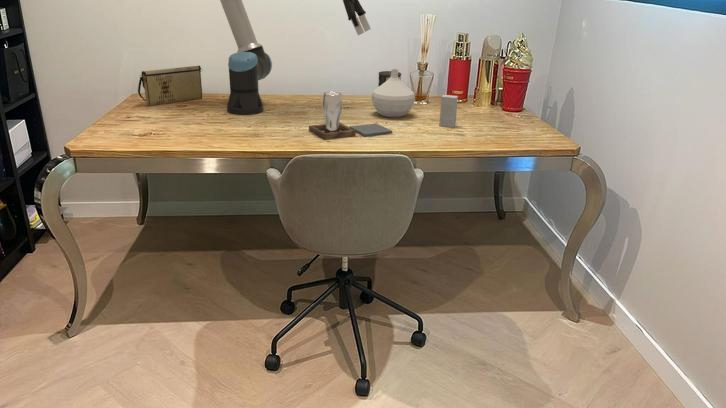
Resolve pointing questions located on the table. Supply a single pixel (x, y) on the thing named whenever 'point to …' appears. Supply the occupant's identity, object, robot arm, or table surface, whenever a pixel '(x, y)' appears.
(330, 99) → the beer glass
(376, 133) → the slate pad
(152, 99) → the clutch purse
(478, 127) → the table surface
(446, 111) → the skincare box
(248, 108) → the robot arm
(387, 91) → the vase
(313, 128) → the frame
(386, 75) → the coffee can
